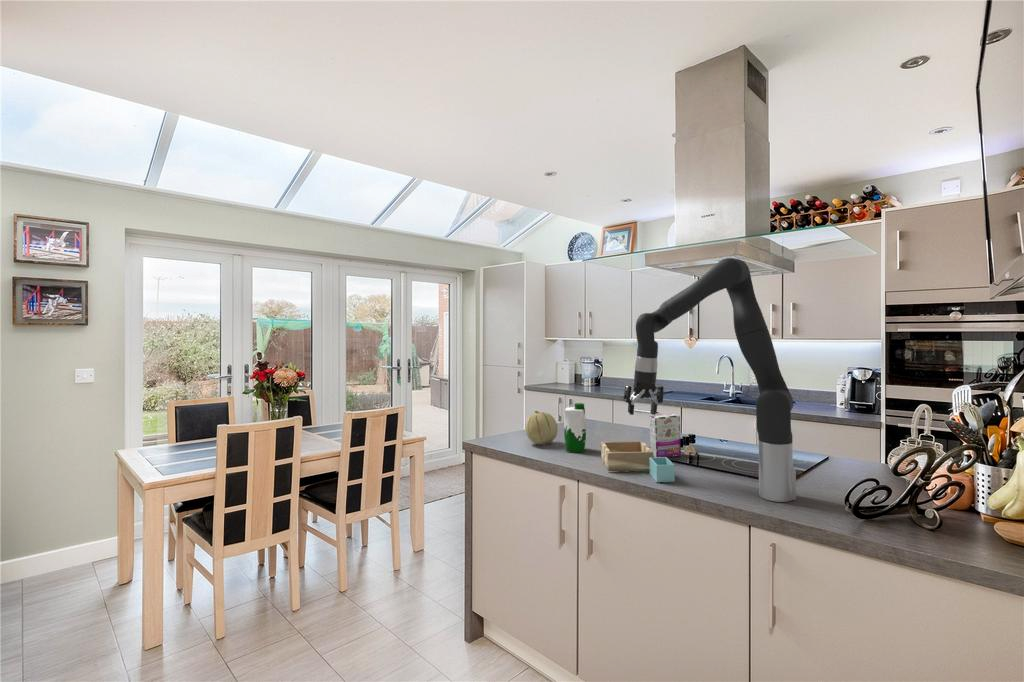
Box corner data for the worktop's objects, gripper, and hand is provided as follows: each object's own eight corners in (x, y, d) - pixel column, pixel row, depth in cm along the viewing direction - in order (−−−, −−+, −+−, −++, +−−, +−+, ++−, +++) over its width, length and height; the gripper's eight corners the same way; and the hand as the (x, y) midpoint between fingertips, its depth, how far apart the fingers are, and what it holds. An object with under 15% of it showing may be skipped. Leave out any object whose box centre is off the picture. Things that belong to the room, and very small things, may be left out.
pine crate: (601, 459, 205) (600, 442, 205) (642, 458, 205) (642, 441, 204) (608, 472, 188) (607, 453, 187) (653, 471, 187) (653, 452, 187)
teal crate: (649, 474, 184) (649, 457, 184) (666, 473, 184) (666, 457, 184) (656, 482, 174) (656, 465, 174) (674, 482, 174) (674, 465, 174)
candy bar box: (674, 453, 212) (673, 413, 211) (681, 456, 207) (680, 415, 206) (649, 455, 209) (649, 415, 208) (656, 458, 204) (655, 417, 203)
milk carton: (585, 453, 215) (584, 405, 215) (563, 452, 217) (562, 405, 217) (586, 448, 224) (585, 402, 223) (566, 447, 226) (564, 402, 225)
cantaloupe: (551, 449, 223) (550, 415, 223) (520, 446, 230) (519, 413, 229) (562, 441, 237) (562, 409, 236) (533, 439, 243) (532, 408, 242)
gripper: (632, 371, 177) (628, 417, 179) (669, 371, 180) (665, 416, 182) (622, 367, 184) (619, 411, 186) (658, 367, 187) (654, 411, 189)
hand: (642, 414), depth 184 cm, fingers open, 8 cm apart
